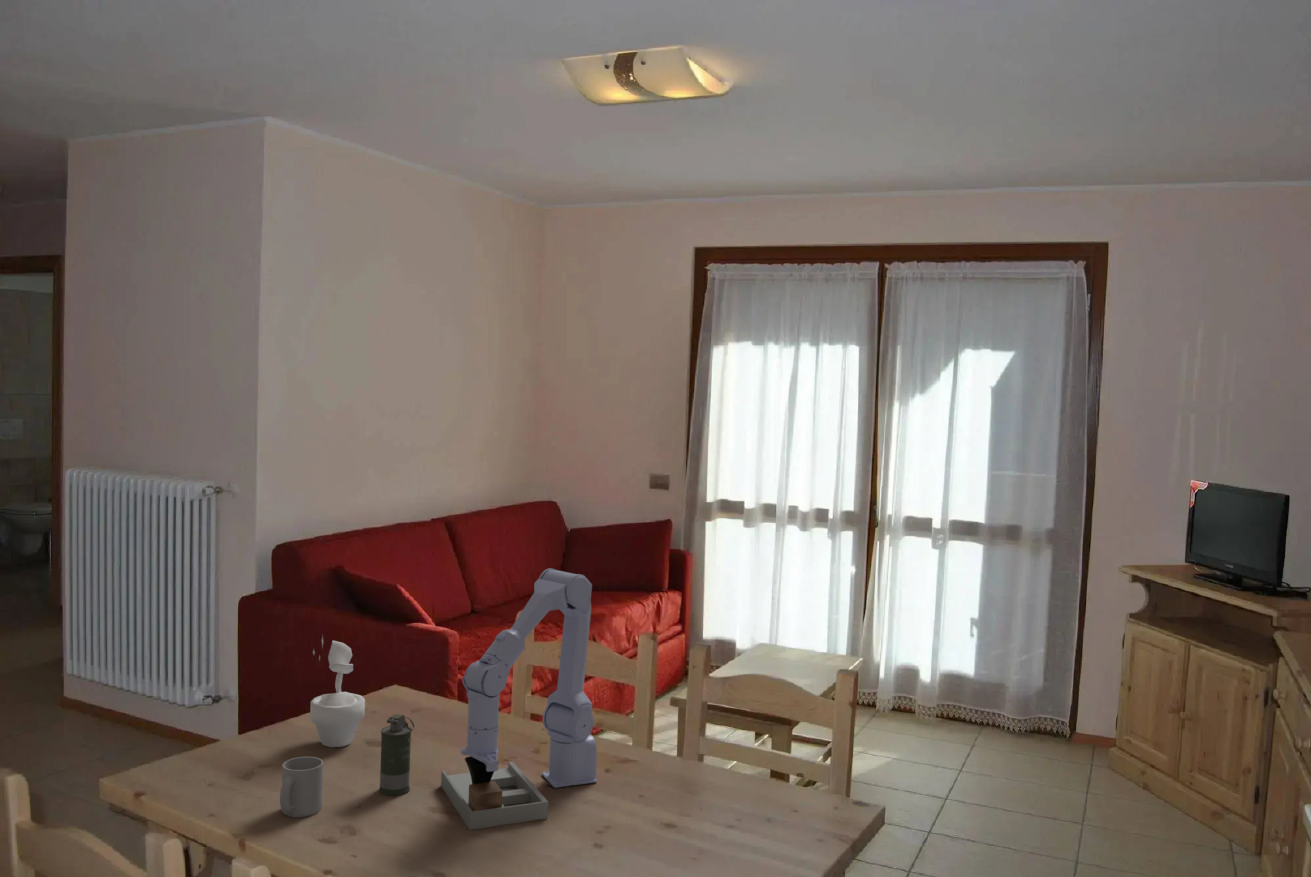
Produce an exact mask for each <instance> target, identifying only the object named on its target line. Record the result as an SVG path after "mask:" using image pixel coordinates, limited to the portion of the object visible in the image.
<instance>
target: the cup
mask: <svg viewBox="0 0 1311 877" xmlns="http://www.w3.org/2000/svg"><path fill="white" fill-rule="evenodd" d="M281 771H282V775H281V776H282V778H281V780H282V781H281V787H280V791H279V792H280V794H279V805H280V809H281V812H282V814H284V816H286V815H287V816H286V817H289V816H292V817H291V818H306V817H305V816H307V817H312V816H313V815H316V814H318V813H319V812H320V811H321V809H322V806H323V788H324V787H323V784H324V782H323V781H324V761H323V759H321V758H319V757H315V756H299V757H294V758H290V759H288V760H287V759H286V761H284V762H283V763H282V770H281ZM317 812H318V813H317Z"/></svg>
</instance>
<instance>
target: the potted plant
mask: <svg viewBox="0 0 1311 877" xmlns="http://www.w3.org/2000/svg"><path fill="white" fill-rule="evenodd" d="M321 637H322V638H321V640H320V641H321V647H322V650H324V649H323V647H324V642H325V641H324V635H322V636H321ZM312 654H313V655H315V654H316V652H315V649H313V650H312ZM352 658H353V653H352V648H351V647H350V646H349V645H347V644H346V643H344V642H342V641H341V642H340V641H337V640H332V642H331V646H330V649H329V652H328V656H327V659H328V664H329V666H328V668H329V669H330V670H331V671H332V672H334V673H337V674H336V677H335V683H334V686H335V691H336V692H333V693H325V694H321V695H319V696H316V697H314V698H313V699H311V701H310V713H309V714H310V715H309V716H310V717H309V718H310V721H311V722H312V723H313V724H315V728H316V731H317V734H318V736H319V740H320V743H321V744H322V746H325V747H327V748H335V747H337V748H343V747H346V746H348V745H350V744H351V743H352V742H353V741H354V740H353V739H354V737H355V734H356V731H357V729H358V726H359V723H360V722H361V721H362V720H363V719H364V718H365V714H366V713H365V709H366V699H365V698H364V696H362V695H360V694H357V693H351V692H348V691H342V683H343V676H344V674H346V675H347V674H350V673H351V672H353V671H354V664H353V663H350V662H351V659H352ZM318 660H319V663H320V660H321V655H320V654H319V657H318Z"/></svg>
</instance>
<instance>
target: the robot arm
mask: <svg viewBox="0 0 1311 877" xmlns="http://www.w3.org/2000/svg"><path fill="white" fill-rule="evenodd" d="M533 585H534V586H533V591H534V592H533V594H532V596H531V597H530V599H529V600H528V601H527V603H526V605H525V606H524V607H523V609H522V611H521V612H520V613H519V615H518V617H517V618H516V620H515V622H514V623H513V624H512V626H511V628H510V629H504V630H502V631H500V633H498V634H497V635H496V636H495V638H494V641H493V642H492V643H491V645H490V646H489V647H488V648H487V650H486V651H485V652H484V653H483V655H482V656H481V658H480V659H479V660H476V661H475V662H472V663H470V665H469V666H468V667H466V670H465V672H464V676H462V678H461V679H462V684H463V686H464V688H465V690H466V697H467V699H468V703H467V704H468V707H467V735H466V745H465V747H463V748H460V753H461V755H462V756H466V757H464V761H465V762H466V766H467V768H468V770H469V773H470V775H471V780H472V784H478V783H486V782H490V781H491V778H492V775H493V773H494V771H498V769H499V760H498V755H499V747H498V734H499V712H500V711H499V708H500V706H499V704H500V694H501V693H502V691H504V689H505V688H506V685H507V681H508V676H509V675H510V670H511V668H512V667H513V665H515V663H516V661H517V660H518V659H519V658H520V656H521V654H523V652H524V650H525V649H526V642H525V641H526V640H525V639H527V637H528V636H529V635H530V634H531V633H532V631H533V630H534V629H535V628H536V627H537V626H538V625H539V623H540V622H541V621H542V620H543V619H544V618H545V616H546V615H547V614H548V613H549V612H550V611H556V610H559V611H560V612H561V613H562V614H563V615H564V618H563V624H562V625H563V626H562V636H561V637H562V639H561V646H560V647H561V648H560V657H559V667H558V676H557V689H556V690H554V691H553V692H552V693H551V694H550V695H548V696H547V704H546V707H545V709H544V711H543V714H542V725H543V726H544V728H545V729H546V730H547V735H548V736H549V754H548V755H549V757H548V771H542V773H541V774H542V776H543V778H545V779H546V781H548V783H549V784H550V785H551V786H552V787H553V788H556V789H557V788H562V787H564V788H566V787H572V786H579V785H585V784H586V785H587V784H594V783H597V782H598V779H596V778H597V775H596V774H597V756H598V754H597V753H598V750H597V743H596V740H595V738H594V736H593V735H592V734H591V733H592V731H593V728H594V722H595V719H594V716H593V703H592V701H591V700H590V699H589V697H588V696H587V695H586V693H585V692H584V689H585V688H584V687H585V679H586V678H585V677H586V668H587V658H588V657H587V656H588V647H589V639H590V638H589V636H590V627H591V626H590V625H591V615H592V602H591V601H592V600H591V599H592V590H593V584H592V583H591V582H590V580H589V579H588V578H587V577H586V576H585V575H584V574H580V573H577V574H576V573H572V572H567V571H563V570H557V569H555V568H551V567H550V568H547V569H545V570H543V571H542V572H541V574H540V575H539V577H538V579H537V580H536V581H535V582H534V584H533ZM571 785H572V786H571Z"/></svg>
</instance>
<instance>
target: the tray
mask: <svg viewBox="0 0 1311 877" xmlns="http://www.w3.org/2000/svg"><path fill="white" fill-rule="evenodd" d="M507 766H508V767H506V768H498V771H494V773H493V775H492V778H491V781H490V782H494V781H495V782H496V784H497V785H498V786H499V787H500V789H501V790H502V807H500V808H493V809H485V810H478V811H472V810H471V809H470V807H469V806H468V801H469V785H470V784H472V780H471V775H470V772H464V773H455V774H448V773H447V772H446V771H445V769H443V770H441V775H440V776H441V777H440V778H441V779H440V787H441V786H442V787H441V788H442V790H443V791H444V793H445V794H446V796H447V797H448V799H449V800H450V802H451V804H452V805H453V806H454V808H455V809H456V811H457V813H458V814H459V816H460V817H461V819H462V820H463V822H464V823H465V825H466V826H467V828H468V830H469V831H471V830H479V829H486V828H491V827H500V826H504V825H505V824H507V825H511V824H519V823H526V822H532V821H538V820H546V819H548V816H549V815H548V813H549V801H548V800H547V799H546V797H545V796H544V795H543V794H542V793H541V792H540V790H539V789H538V788H537V787H536V786H535V785H534V784H533V783H532V781H531V780H529V778H528V777H527V776H526V774H524V772H522V770H521V769H520V768H519V767H518V766H517V764H516V763H515V761H509V762H508V763H507ZM499 825H500V826H499Z"/></svg>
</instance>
